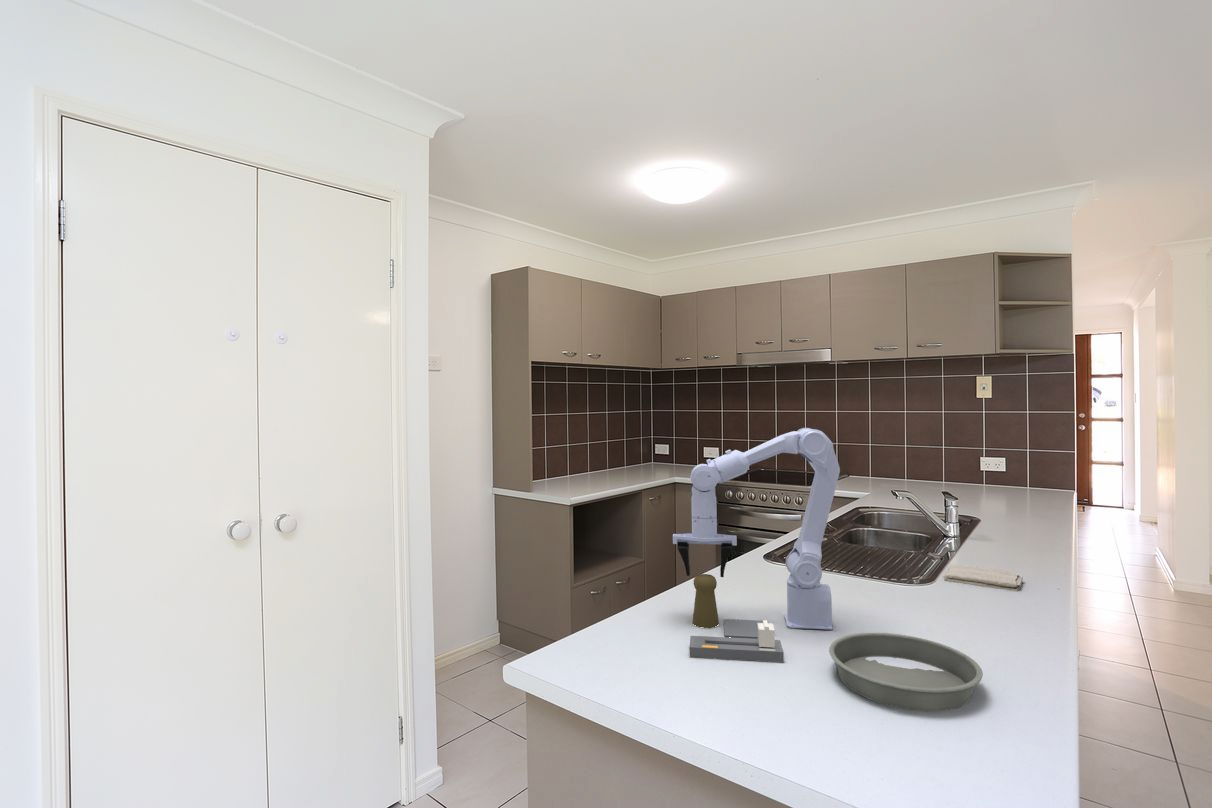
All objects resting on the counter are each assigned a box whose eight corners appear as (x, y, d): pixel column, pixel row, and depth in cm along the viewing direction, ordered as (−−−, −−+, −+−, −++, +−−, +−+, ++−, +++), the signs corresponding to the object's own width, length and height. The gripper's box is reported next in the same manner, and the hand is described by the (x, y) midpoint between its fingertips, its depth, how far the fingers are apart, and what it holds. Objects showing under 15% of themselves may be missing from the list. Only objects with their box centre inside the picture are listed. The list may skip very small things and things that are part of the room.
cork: (718, 629, 135) (718, 579, 135) (691, 627, 136) (690, 578, 136) (719, 619, 141) (718, 572, 141) (693, 617, 142) (692, 571, 142)
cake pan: (1019, 703, 101) (1018, 676, 101) (897, 728, 94) (896, 699, 94) (906, 647, 124) (906, 625, 124) (802, 663, 117) (801, 640, 117)
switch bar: (780, 649, 123) (780, 639, 123) (783, 662, 117) (783, 651, 117) (690, 645, 126) (690, 635, 126) (689, 657, 120) (689, 646, 120)
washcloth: (1021, 594, 157) (1020, 582, 157) (942, 582, 168) (942, 571, 168) (1023, 582, 167) (1023, 571, 167) (949, 572, 177) (948, 562, 177)
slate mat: (768, 622, 138) (768, 620, 138) (772, 640, 128) (772, 637, 128) (723, 620, 140) (723, 618, 140) (724, 637, 130) (724, 635, 130)
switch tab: (772, 640, 122) (772, 620, 122) (774, 647, 119) (774, 627, 119) (757, 639, 123) (757, 619, 123) (759, 646, 119) (758, 626, 119)
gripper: (735, 513, 143) (736, 571, 143) (673, 512, 146) (674, 569, 146) (736, 519, 136) (737, 580, 136) (671, 518, 139) (672, 577, 139)
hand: (705, 575), depth 140 cm, fingers open, 7 cm apart
